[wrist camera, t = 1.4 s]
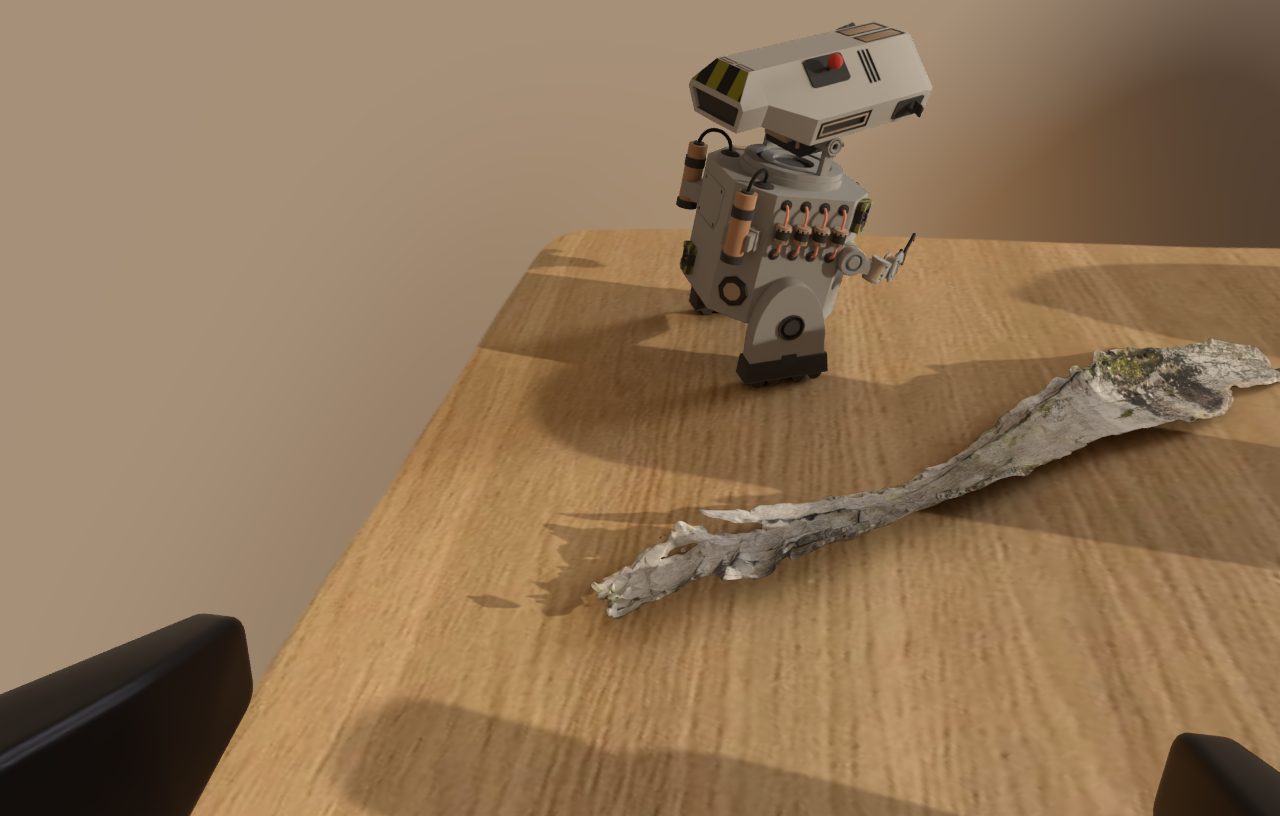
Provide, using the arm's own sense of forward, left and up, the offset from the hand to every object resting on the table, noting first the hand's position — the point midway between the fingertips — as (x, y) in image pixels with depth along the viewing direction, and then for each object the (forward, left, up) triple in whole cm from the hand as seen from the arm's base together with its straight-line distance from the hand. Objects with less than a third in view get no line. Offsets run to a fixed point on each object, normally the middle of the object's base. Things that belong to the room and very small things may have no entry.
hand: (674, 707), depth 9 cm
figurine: (+34, -13, -17) cm, 40 cm away
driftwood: (+21, -18, -17) cm, 33 cm away
